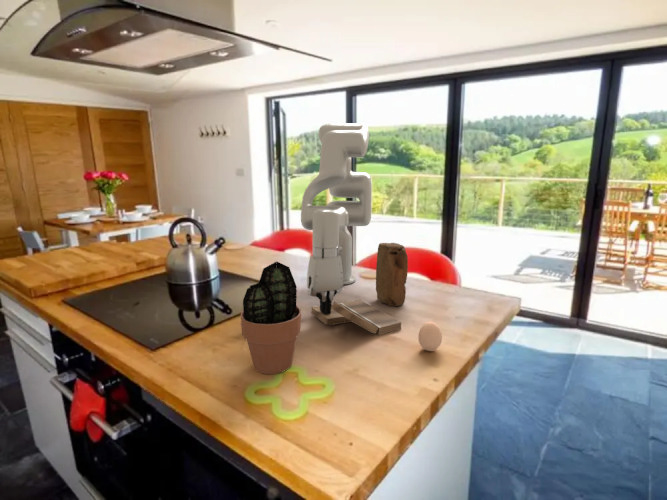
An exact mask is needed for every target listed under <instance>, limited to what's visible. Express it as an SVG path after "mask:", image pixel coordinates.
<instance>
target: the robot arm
mask: <svg viewBox="0 0 667 500" xmlns="http://www.w3.org/2000/svg"><path fill="white" fill-rule="evenodd" d="M318 137H319V141H320V144H321V147H320V159H319V170H318V171H319V172H318V175H317V176H316V177H314V179H313V180H311V181H310V183H308V186H307V187H306V189H305V191H304V193H303V196H302V200H301V201H302V202H301V211H300V223H301V225H302V228H303V229H304V230H307V231H312V256H310V257H309V259H308V265H307V273H306V275H307V276H306V288H307V289H308V295H309V296H310V297H313V298H314V297H316V298H317V299H318V300H319V306H320V311H321V312H322V313H324V314H325V315H326V314H331V306H332V304H333V300H334V297H335V296H336V295H337V294H338V293H341V292H342V291H343V286H345V285H351V284H353V283H355V282H356V277H355V275H352V260H353V258H352V257H353V255H352V254H353V251H352V250H353V238H352V234H351V232H350V231H349V229H348V228H347V227H366V226H368V225H370V223H371V219H372V178H371V176H370V174H368V172H365V171H364V172H363V171H353V170H352V158H364V157H365V156H366V154H367V151H368V147H369V141H370V131H369V127H368V125H367V124H365V123H361V122H360V123H359V122H358V123H356V122H355V123H354V122H353V123H351V122H349V123H346V122H344V123H343V122H341V123H340V122H339V123H337V122H336V123H335V122H334V123H327V124H323V125H321V126H320V127H319V130H318ZM326 190H328V191H329V194H330V195H331V196H332V197H334V198H341V199H342V198H345V199H346V198H347V199H348V198H349V199H357V200H333V201H330V202H329V203H327V204H326V205H313V201H314V200H315V198H316V197H317V196H318V195H319V194H321V193H322V192H323V191H326Z"/></svg>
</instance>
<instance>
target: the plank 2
mask: <svg viewBox="0 0 667 500" xmlns="http://www.w3.org/2000/svg"><path fill="white" fill-rule="evenodd" d="M339 304H340V303H337V302H335V301H333V302H332V306H331V308H332V309H333V310H335V311H336V312H338V313H339V314H341V315H342V316H344V317H345V318H347V319H348V320H350V321H352V323H353V324H355V325H357V326H359V327H360V328H363V329H365V330H367V331H368V332H370V333H373V335H376V331H377V329H378V327H376V326H374V325H373V324H371V323H369V322H368V321H366V320H365V319H363V318H361V317H360V316H358V315H356V314H355V313H353V312H351V311H349V310H347V309H346V308H344V307H342V306H340V305H339Z"/></svg>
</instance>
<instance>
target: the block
mask: <svg viewBox="0 0 667 500" xmlns="http://www.w3.org/2000/svg"><path fill="white" fill-rule="evenodd" d="M408 262H409V259H408V253H407V251H406V248H405V246H404V245H403V244H400V243H396V242H380V243H379V244H378V247H377V253H376V268H375V291H376V297H377V298H376V299H377V300H378V301H380V302H381V303H382V304H386V305H388V306H391V307H400V306H402V305H404V304H405V301H406V293H407V292H406V289H407V287H406V283H407V279H408V270H409V269H408V268H409V263H408Z"/></svg>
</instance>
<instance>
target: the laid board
mask: <svg viewBox="0 0 667 500" xmlns="http://www.w3.org/2000/svg"><path fill="white" fill-rule="evenodd" d="M339 304H340V305H342V306H343V307H345V308H347V309H348V310H350V311H352V312H353V313H355V314H356V315H358V316H360V317H361V318H363V319H365V320H366V321H368V322H369V323H371V324H373V325H374V326H376V327H378V329H377V331H376V333H377V335H382V334H386V333H390V332H393V331H397V330H401V329H402V322H401V321H400V320H398V319H397V318H395V317H392V316H391V315H389V314H387V313H385V312H383V311H382V310H380V309H378V308H376V307H375V306H373V305H371V304H369V303H367V302H365V301H363V300H361V299H356V300H351V301H347V302H343V303H342V302H341V303H339ZM376 333H375V334H376Z"/></svg>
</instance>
